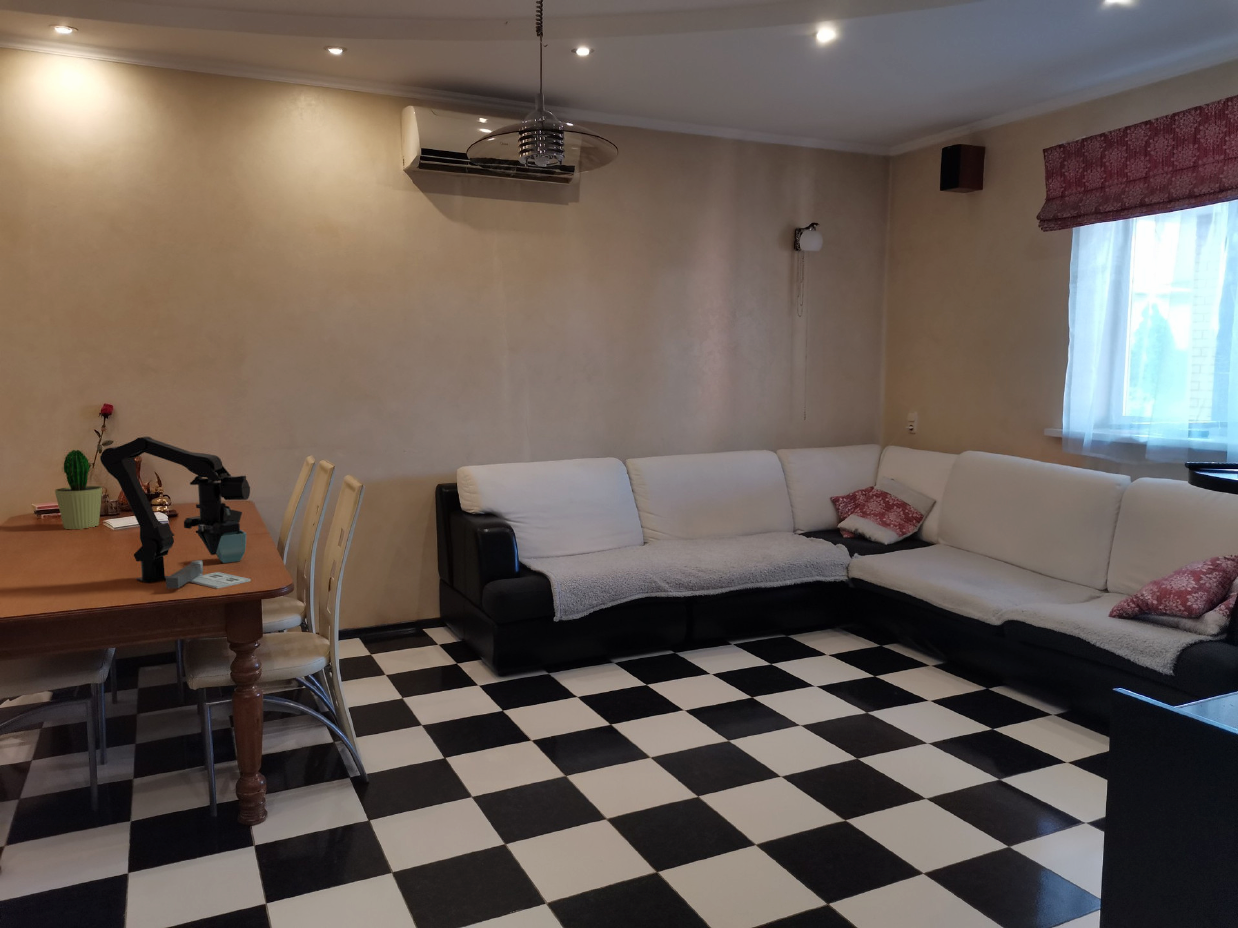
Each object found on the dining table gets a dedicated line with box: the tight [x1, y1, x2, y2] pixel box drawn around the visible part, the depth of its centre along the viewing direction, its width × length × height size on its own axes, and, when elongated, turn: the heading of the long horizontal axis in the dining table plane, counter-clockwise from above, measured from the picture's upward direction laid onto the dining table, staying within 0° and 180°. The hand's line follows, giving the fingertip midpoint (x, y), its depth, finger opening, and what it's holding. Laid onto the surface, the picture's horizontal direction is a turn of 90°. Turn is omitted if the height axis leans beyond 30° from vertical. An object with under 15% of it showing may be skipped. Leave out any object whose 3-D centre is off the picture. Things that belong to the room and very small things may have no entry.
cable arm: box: [165, 559, 204, 589], centre depth 246 cm, size 20×3×3 cm, turn 6°
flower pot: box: [215, 529, 247, 564], centre depth 274 cm, size 9×9×9 cm
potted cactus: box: [54, 449, 103, 530], centre depth 334 cm, size 15×15×30 cm
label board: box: [188, 571, 251, 590], centre depth 250 cm, size 19×10×1 cm, turn 56°
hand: (213, 554), depth 251 cm, fingers closed
